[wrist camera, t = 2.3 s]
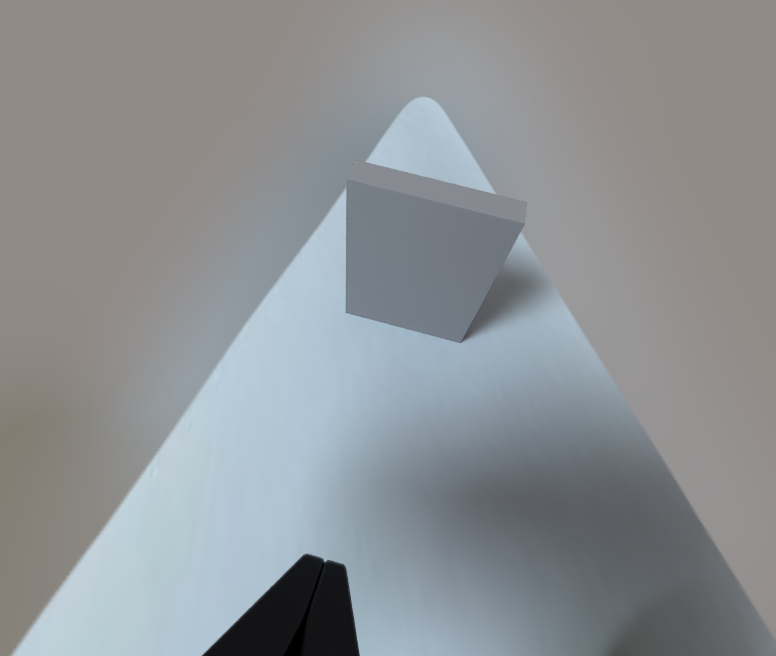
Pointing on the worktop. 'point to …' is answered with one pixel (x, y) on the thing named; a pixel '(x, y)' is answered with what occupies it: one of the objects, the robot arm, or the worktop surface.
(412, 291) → the tile
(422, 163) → the worktop surface
